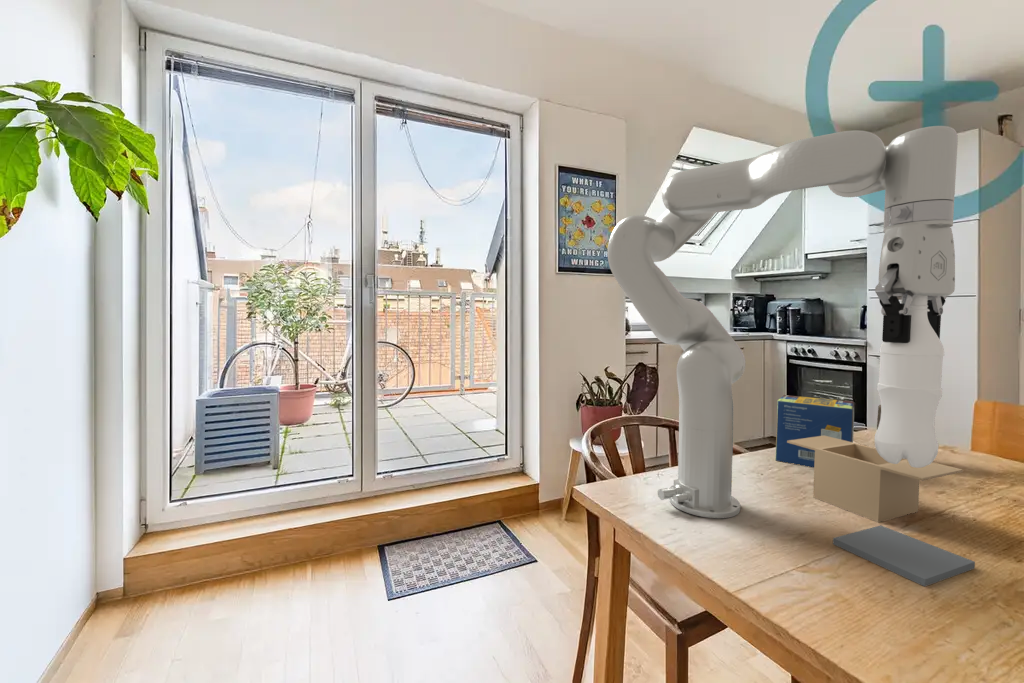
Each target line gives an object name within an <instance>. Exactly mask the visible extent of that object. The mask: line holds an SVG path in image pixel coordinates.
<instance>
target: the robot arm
mask: <svg viewBox="0 0 1024 683" xmlns="http://www.w3.org/2000/svg"><path fill="white" fill-rule="evenodd" d="M958 139H959V138H958V132H957V131H956V130H955V128H953V127H951V126H947V125H933V126H931V125H930V126H926V127H920V128H916V129H913V130H910V131H906V132H904V133H902V134H900V135H898V136H896V137H895V138H893V139H892V140H891V142H890V143H889V144H888V145H885V143H884V142H883V140H882V139H881V137H879V136H878V135H877V134H875V133H874V132H871V131H866V130H859V129H857V130H853V129H852V130H844V131H838V132H834V133H833V132H832V133H829V134H822V135H817V136H812V137H807V138H806V137H805V138H802V139H798V140H794V141H792V142H789V143H785V144H783V145H781V146H778V147H776V148H773V149H770V150H768V151H765V152H763V153H761V154H758V155H756V156H754V157H750V158H745V159H740V160H734V161H729V162H724V163H719V164H713V165H707V166H700V167H696V168H690V169H685V170H681V171H678V172H676V173H673V174H672V175H671V176H670V177H669V178H667V180H666V182H665V183H664V184H663V187H662V190H661V191H662V192H661V197H662V198H661V199H662V202H663V204H664V207H665V208H666V209H665V211H664V212H663V213H662V214H661V215H660V216H659V217H658V218H657V219H655V218H652V217H650V216H647V215H646V216H645V215H639V214H636V215H629V216H627V217H624V218H623V219H621V220H620V221H619V222H617V224H616V225H614V226H615V227H614V228H613V230H612V232H611V233H610V236H609V239H608V243H607V261H608V265H609V266H608V267H609V269H610V271H611V273H612V276H613V277H614V279H615V280H616V282H617V284H618V285H619V286H620V288H621V289H622V291H623V293H625V295H626V296H627V297H628V298H629V300H630V302H631V303H632V305H633V306H634V308H635V310H636V311H637V312H638V313H639V314H640V316H641V318H642V320H643V321H644V322H645V323H646V324H647V326H648V327H649V329H650V330H651V332H652V333H653V335H654V336H655V337H656V339H658V340H659V341H660V342H661V343H664V344H666V345H674V346H675V345H677V346H679V347H680V348H681V349H682V351H683V352H682V353H681V354H680V356H679V358H678V360H677V364H676V369H675V370H676V372H675V373H676V383H677V391H678V458H677V459H678V460H677V462H678V465H677V466H678V470H677V472H678V473H677V479H673V485H671V486H670V487H669V488H668V487H665V488H664V487H663V488H660V489H658V490H657V497H658V498H659V499H660V500H669V502H670V504H672V506H674V507H675V508H677V509H678V510H679V511H682V512H685V513H686V514H690V515H693V516H697V517H701V518H709V519H728V518H732V517H734V516H735V517H736V516H737V515H738V514H739V513H740V511H741V503H740V502H739V500H738V499H737V498H736V497H734V496H733V495H732V489H733V486H732V485H733V480H732V479H733V451H734V448H733V446H734V443H733V442H734V400H733V388H732V387H733V386H732V385H733V384H735V383H736V382H737V381H738V380H739V379H741V377H742V376H743V374H744V373H745V369H746V358H745V354H744V353H743V351H742V348H741V347H740V346H739V344H738V343H737V342H736V341H735V339H734V338H733V337H732V336H731V334H730V333H729V332H728V331H727V330H726V328H725V327H724V325H723V324H722V323H721V322H720V321H719V320H718V318H717V317H716V316H715V314H714V313H713V312H712V310H710V309H709V308H708V307H707V306H706V305H705V304H704V303H702V302H700V301H698V300H696V299H693V298H687V297H685V296H683V295H682V294H681V293H680V291H679V290H678V289H677V288H676V287H675V285H674V284H673V283H672V282H671V281H670V279H669V278H668V276H667V275H666V274H665V273H664V272H663V270H661V269H660V267H658V266H657V264H656V263H657V262H658V263H659V262H662V261H665V260H667V259H669V258H670V257H672V256H673V255H674V254H675V253H677V251H679V250H680V249H681V248H682V247H683V246H684V245H685V244H686V243H687V242H688V241H689V240H690V239H692V237H694V236H695V235H696V234H697V233H698V231H700V230H702V228H703V227H704V226H705V225H706V224H707V223H708V222H709V220H710V219H712V218H713V216H714V215H715V213H722V212H730V211H732V212H733V211H734V212H735V211H741V210H742V211H743V210H750V209H754V208H757V207H759V206H761V205H762V204H764V203H765V202H766V201H768V200H769V199H771V198H773V197H775V196H778V195H781V194H786V193H788V192H793V191H797V190H804V189H811V188H818V187H825V186H828V188H829V189H830V191H831V192H832V193H834V194H835V195H836V196H839V197H841V198H857V197H862V196H866V195H871V194H873V193H877V192H881V191H884V192H885V193H884V208H883V210H884V211H883V234H884V235H883V240H882V244H881V250H880V257H879V268H878V283H877V285H876V286H875V288H874V292H875V294H876V296H877V298H878V299H879V300H878V301H879V304H880V306H881V310H880V311H881V314H882V315H883V318H882V321H883V322H882V333H881V334H882V339H881V340H882V342H891V343H909V342H910V332H911V315H907V313H908V311H909V308H910V305H911V301H912V298H913V295H920V296H928V298H927V302H928V303H927V305H928V306H929V307H927V309H929V310H930V311H927V316H928V320H929V323H930V325H931V327H932V328H933V330H934V331H935V333H936V334H937V336H938V338H939V339H940V338H941V321H942V314H943V313H944V305H945V303H946V299H947V297H948V296H951V295H952V294H953V293H954V292H955V289H956V288H955V287H956V255H955V243H954V242H955V241H954V234H953V230H952V227H953V226H954V216H955V215H954V214H955V212H954V211H955V194H956V178H957V177H956V176H957V159H958V145H959V144H958V142H959V140H958ZM901 300H902V302H901V303H900V301H901ZM940 340H941V339H940Z"/></svg>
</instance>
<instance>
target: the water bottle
mask: <svg viewBox="0 0 1024 683" xmlns="http://www.w3.org/2000/svg"><path fill="white" fill-rule="evenodd" d="M927 298H928V296H920V295H913V298H912V301H911V305H910V308H909V311H908V313H907V315H911V332H910V342H909V343H891V342H883V341H882V343H881V344H880V347H879V354H880V355H879V370H878V371H879V373H878V374H879V375H878V382H877V386H876V387H877V389H876V391H877V394H878V397H879V401H880V405H881V418H880V423H879V426H878V429H877V428H876V431H875V434H874V448H876V450H877V452H878V453H879V455H880V456H881V457H882V458H883V459H884V460H886V461H887V462H889V463H892V464H898V463H899V462H900V461H901V459H902V458H903V459H907V460H908V462H909V464H910V466H911V467H915V468H922V467H925V466H926V465H930V464H931V463H932V462H934V461H935V459H936V458H937V456H938V453H939V445H940V444H939V442H938V439H937V438H938V437H937V435H936V434H937V433H936V426H935V425H936V422H935V421H936V420H935V419H936V413H937V409H938V407H939V403H940V401H941V398H942V396H943V388H942V376H943V375H942V372H943V359H944V356H945V348H944V345H943V343H942V341H941V339H939V338H938V336H937V334H936V333H935V331H934V330H933V328H932V327H931V325H930V323H929V320H928V316H927V311H930V310H929V309H927V307H929V306H928V305H927V303H928V302H927ZM899 302H900V303H901V302H902V300H899Z"/></svg>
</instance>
